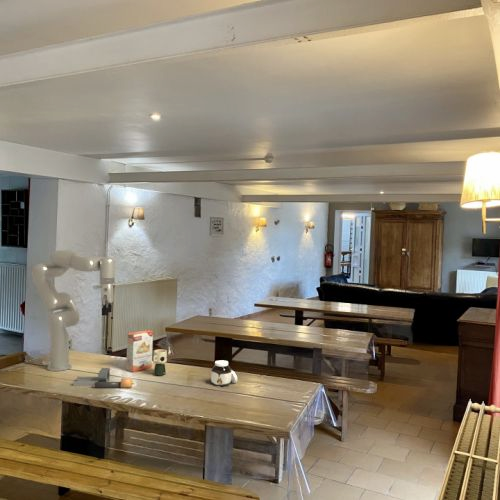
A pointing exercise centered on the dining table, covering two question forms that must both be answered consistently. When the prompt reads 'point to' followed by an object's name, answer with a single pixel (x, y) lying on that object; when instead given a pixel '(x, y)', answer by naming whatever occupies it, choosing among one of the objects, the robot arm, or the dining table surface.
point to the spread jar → (222, 374)
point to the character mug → (159, 361)
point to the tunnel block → (93, 378)
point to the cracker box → (139, 350)
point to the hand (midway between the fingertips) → (106, 313)
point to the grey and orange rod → (116, 384)
